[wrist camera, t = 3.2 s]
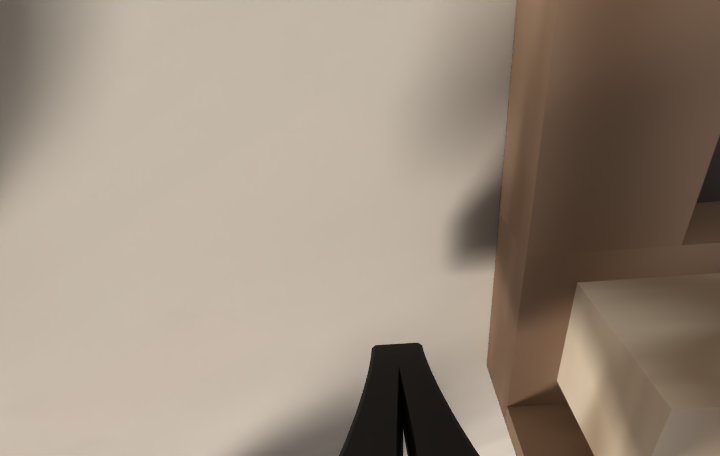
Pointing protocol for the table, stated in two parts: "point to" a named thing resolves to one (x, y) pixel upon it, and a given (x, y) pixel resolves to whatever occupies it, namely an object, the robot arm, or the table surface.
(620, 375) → the maple block
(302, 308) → the table surface
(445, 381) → the table surface
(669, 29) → the trap deck
